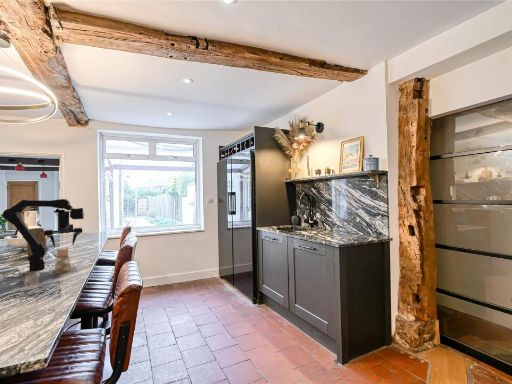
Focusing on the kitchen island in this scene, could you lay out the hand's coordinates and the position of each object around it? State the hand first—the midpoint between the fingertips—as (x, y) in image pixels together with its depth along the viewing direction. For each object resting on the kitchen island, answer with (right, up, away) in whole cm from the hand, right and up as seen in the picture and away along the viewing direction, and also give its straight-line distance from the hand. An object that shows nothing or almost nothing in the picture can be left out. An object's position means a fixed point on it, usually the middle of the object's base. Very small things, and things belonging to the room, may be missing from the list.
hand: (63, 245), depth 169 cm
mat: (+5, -13, -9) cm, 16 cm away
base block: (+5, -12, -9) cm, 16 cm away
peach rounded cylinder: (+5, -4, -9) cm, 11 cm away
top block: (+5, -8, -9) cm, 13 cm away
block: (-42, -14, +34) cm, 56 cm away
